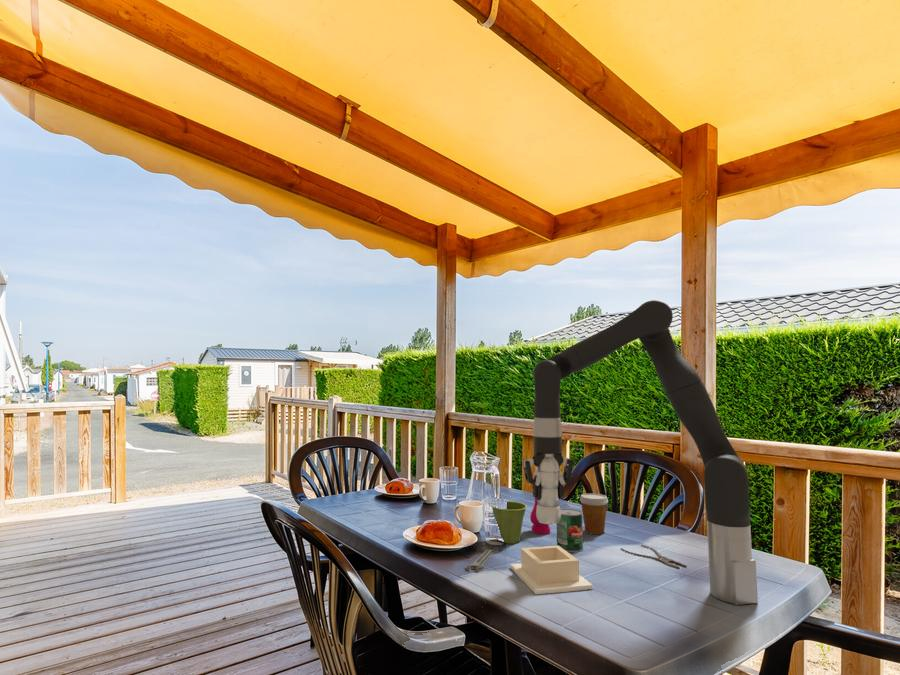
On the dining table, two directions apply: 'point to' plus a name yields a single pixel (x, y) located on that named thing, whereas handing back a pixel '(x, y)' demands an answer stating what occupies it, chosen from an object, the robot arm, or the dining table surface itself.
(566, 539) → the canned tomato
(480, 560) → the wrench
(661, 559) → the pliers
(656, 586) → the dining table surface
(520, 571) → the housing
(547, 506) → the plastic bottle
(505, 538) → the plant pot
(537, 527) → the pepper mill
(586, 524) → the disposable coffee cup
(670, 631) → the dining table surface
